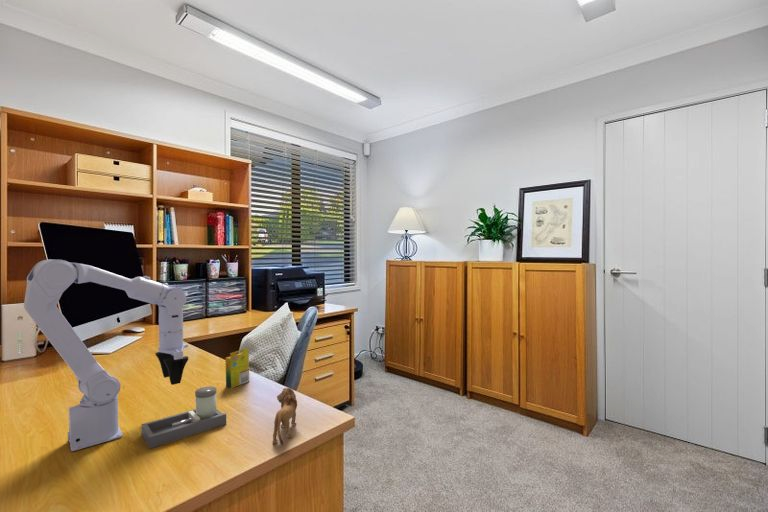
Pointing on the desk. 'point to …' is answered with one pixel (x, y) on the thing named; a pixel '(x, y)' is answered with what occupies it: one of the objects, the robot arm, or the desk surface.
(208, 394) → the jar
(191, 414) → the pusher
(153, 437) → the pusher lane
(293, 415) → the lion figurine
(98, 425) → the robot arm
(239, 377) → the crayon box
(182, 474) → the desk surface
